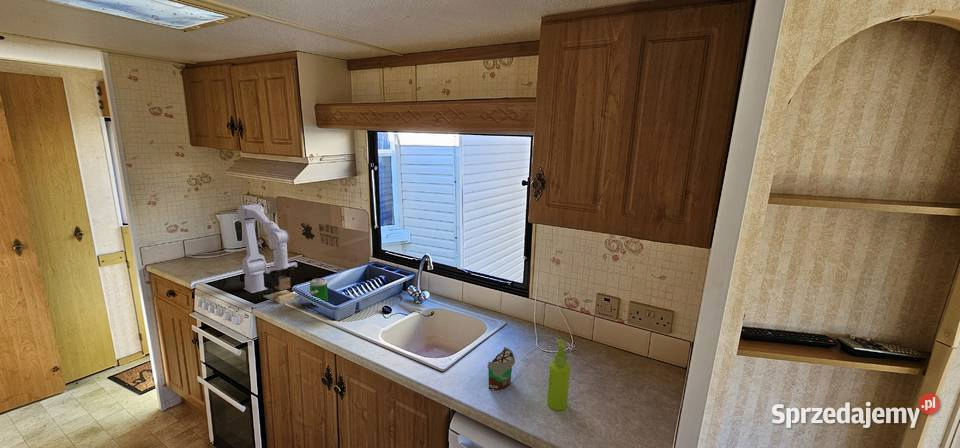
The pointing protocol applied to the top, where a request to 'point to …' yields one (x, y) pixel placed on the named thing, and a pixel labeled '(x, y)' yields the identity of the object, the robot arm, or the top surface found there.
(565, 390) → the soap dispenser
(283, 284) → the walnut cube
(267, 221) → the robot arm
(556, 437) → the top surface
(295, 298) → the rubber mat
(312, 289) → the soda can
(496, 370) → the food container
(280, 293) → the pedestal
